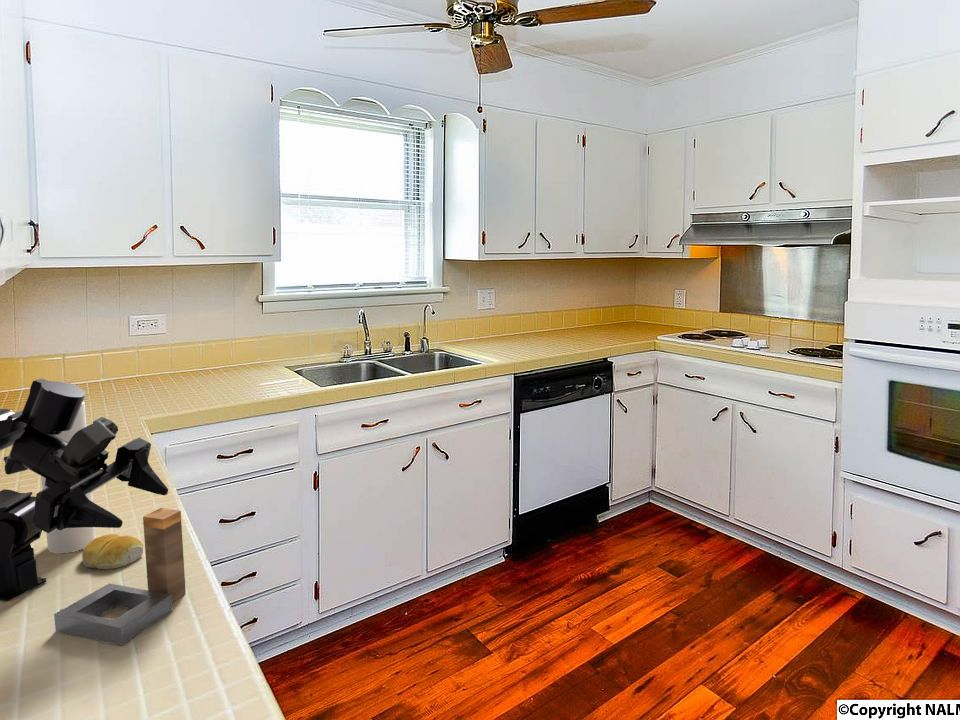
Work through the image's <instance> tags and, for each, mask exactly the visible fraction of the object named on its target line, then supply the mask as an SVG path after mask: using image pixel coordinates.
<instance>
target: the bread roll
mask: <svg viewBox="0 0 960 720" xmlns="http://www.w3.org/2000/svg"><path fill="white" fill-rule="evenodd" d="M143 554H144V544H143V542H142V541H141V540H140V539H139V538H137V537H135V536H132V535H122V536H121V535H118V534H116V533H115V534H114V533H110V534H109V533H108V534H104V535H101V536H98V537H96V539H94V540H92V541H91V542H89V543H88V544H87V545H86V547H85V548H84V550H82V557H81V558H82V563H83V565H85V566H86V567H88V568H92V569H95V568H97V569H99V570H112V569H118V568H122V567H126V566H127V564H128V565H129V563H130V564H132V563H134V562H136V561H137V560H138V559H140V558H141V557H142V556H143Z"/></svg>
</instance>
